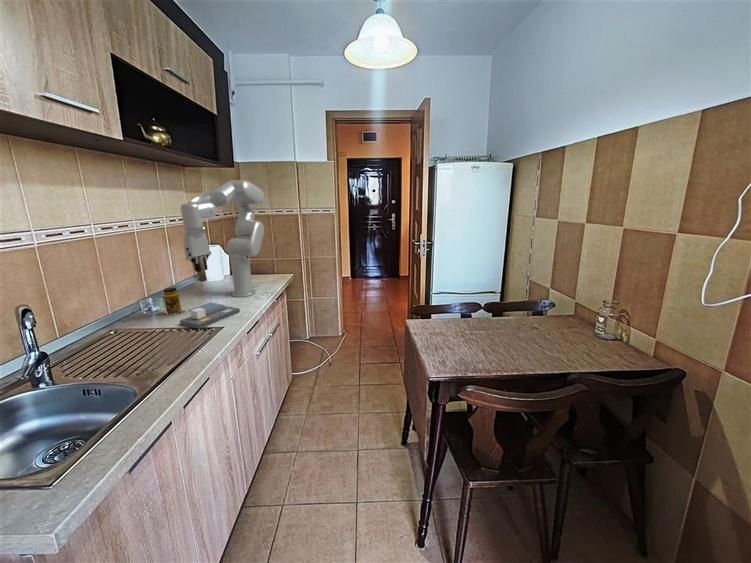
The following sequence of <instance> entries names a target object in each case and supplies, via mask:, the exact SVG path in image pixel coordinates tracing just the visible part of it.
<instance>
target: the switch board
mask: <svg viewBox="0 0 751 563" xmlns="http://www.w3.org/2000/svg"><path fill="white" fill-rule="evenodd" d="M222 305H223V304H222ZM222 305H221V306H218V307H216V308H213V309H210V310H207V311H205V314H206V316H205V317H203V318H200V319H194V318H192V317H191V316H188V317H186V318H183V319H180V320H179V323H180V324H179V325H180V326H184V327H188V326H189V327H188V328H192V329H193V328H194V329H199V330H201V329H203V328H205V327H208V326H210V325H213V324H215V323H218V322H220V321H222V320H221V319H223V320H225V319H227V318H230V317H232V316H235V315H237V314H239V312H240V313H241V309H240V308H238V307H235V306H228V305H227V306H226V305H224V306H222ZM234 314H235V315H234ZM231 315H232V316H231ZM229 316H230V317H229ZM226 317H227V318H226ZM224 318H225V319H224ZM219 320H220V321H219ZM217 321H218V322H217ZM212 323H213V324H212Z"/></svg>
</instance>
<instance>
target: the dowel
mask: <svg viewBox="0 0 751 563" xmlns="http://www.w3.org/2000/svg"><path fill="white" fill-rule="evenodd" d="M203 257H204V256H203V255H202V256H198V263H200V268H201V272H197V273H198V278H199V281H200V282H202V283H204V282H207V281H208V279H207V272H206V270H205V266H204V261H203Z"/></svg>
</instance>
